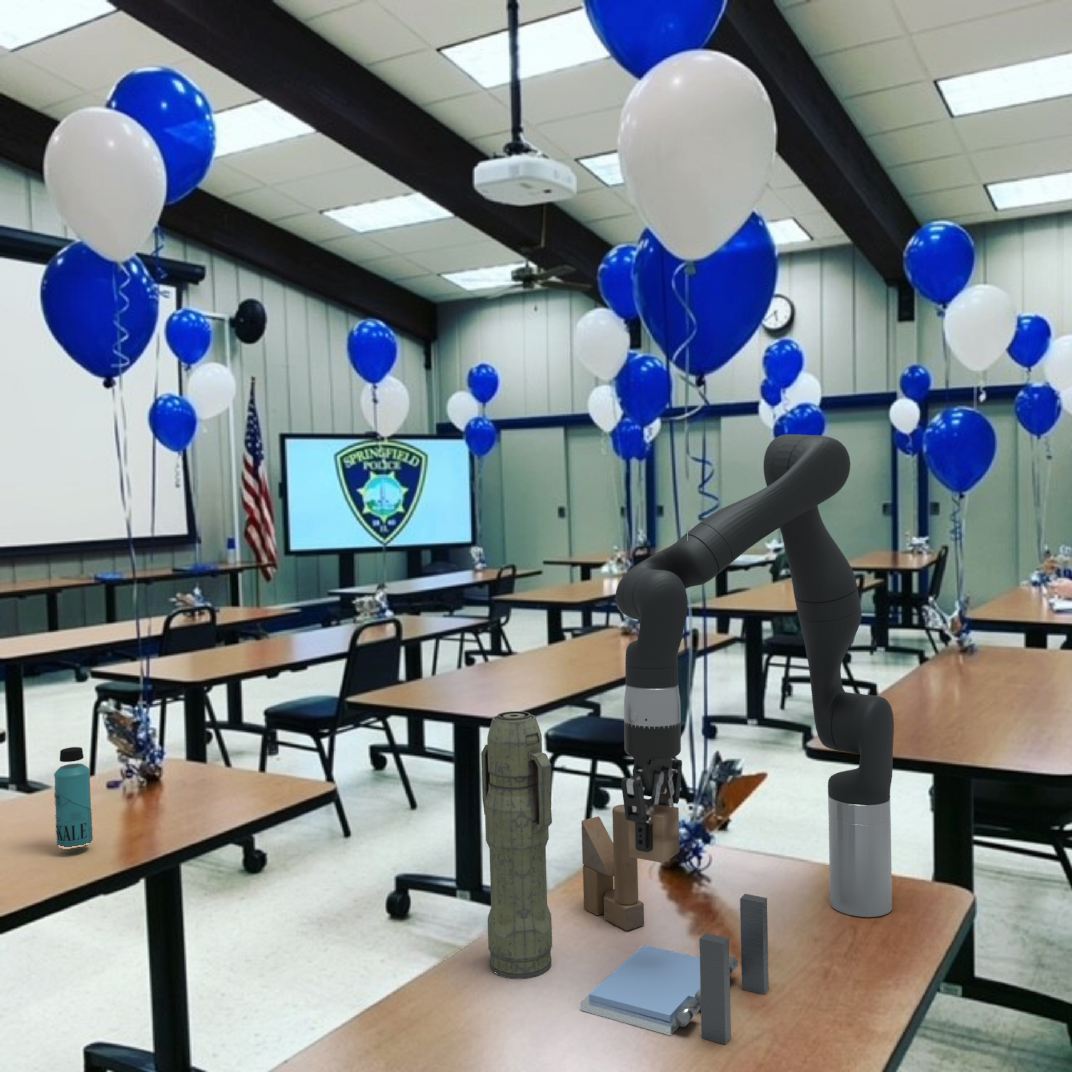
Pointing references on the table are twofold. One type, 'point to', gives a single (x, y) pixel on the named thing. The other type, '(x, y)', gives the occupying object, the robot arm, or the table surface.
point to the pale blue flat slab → (652, 983)
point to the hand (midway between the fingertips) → (653, 844)
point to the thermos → (517, 845)
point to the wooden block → (611, 872)
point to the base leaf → (713, 978)
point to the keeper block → (659, 835)
